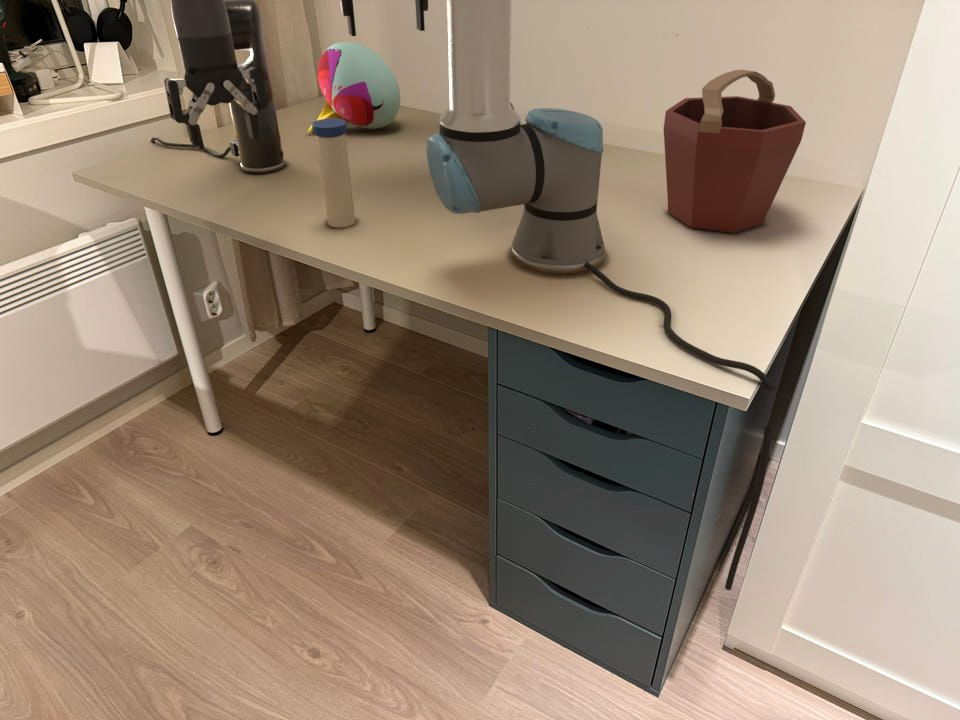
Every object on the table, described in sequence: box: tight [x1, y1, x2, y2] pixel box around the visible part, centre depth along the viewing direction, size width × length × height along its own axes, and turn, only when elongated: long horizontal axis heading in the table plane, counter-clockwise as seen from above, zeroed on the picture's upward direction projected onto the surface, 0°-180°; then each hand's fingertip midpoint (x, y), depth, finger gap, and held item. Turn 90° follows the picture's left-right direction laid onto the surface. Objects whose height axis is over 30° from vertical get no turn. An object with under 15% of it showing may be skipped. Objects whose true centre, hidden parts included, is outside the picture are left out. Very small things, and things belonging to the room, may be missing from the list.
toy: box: [307, 41, 401, 135], centre depth 176 cm, size 24×24×20 cm
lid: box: [311, 118, 348, 137], centre depth 120 cm, size 6×6×2 cm
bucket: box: [663, 69, 807, 234], centre depth 125 cm, size 24×22×25 cm
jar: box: [315, 133, 356, 229], centre depth 125 cm, size 5×5×18 cm
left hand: (227, 142), depth 111 cm, fingers open, 8 cm apart
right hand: (387, 32), depth 136 cm, fingers open, 13 cm apart
